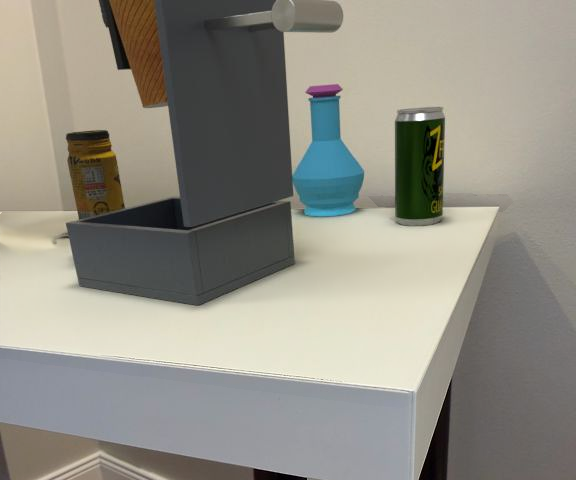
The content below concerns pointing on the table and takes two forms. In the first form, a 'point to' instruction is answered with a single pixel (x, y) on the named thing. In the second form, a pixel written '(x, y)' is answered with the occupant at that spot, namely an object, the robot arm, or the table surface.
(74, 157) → the condiment
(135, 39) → the disposable coffee cup
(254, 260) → the gray storage case
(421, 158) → the beer can
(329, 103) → the perfume bottle
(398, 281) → the table surface
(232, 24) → the lid
